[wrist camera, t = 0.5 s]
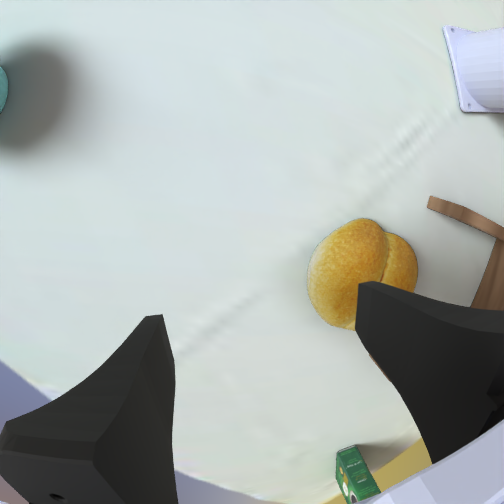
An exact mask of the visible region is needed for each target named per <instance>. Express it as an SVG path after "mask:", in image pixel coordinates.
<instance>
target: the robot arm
mask: <svg viewBox="0 0 504 504" xmlns="http://www.w3.org/2000/svg"><path fill="white" fill-rule="evenodd" d="M443 31H444V35H445V38H446V42H447V46H448V50H449V54H450V58H451V62H452V66H453V71H454V75H455V80H456V85H457V91H458V96H459V102H460V108H461V110H462V111H463V112H501V113H504V27H501V28H495V29H490V30H485V31H480V32H473V31H470V30H466V29H462V28H458V27H454V26H450V25H445V26H443ZM355 330H356V332H357V334H358V336H359V338H360V340H361V342H362V343H363V345H364V347H365V348H366V350H367V351H368V353H369V354H370V355H371V356H372V358H373V359H374V360H375V362H376V363H377V364H378V366H379V367H380V368H381V369H382V371H383V372H384V373H385V375H386V376H387V377H388V378H389V380H390V381H391V382H392V384H393V385H394V386H395V388H396V389H397V391H398V392H399V394H400V395H401V397H402V399H403V401H404V402H405V404H406V406H407V408H408V409H409V411H410V413H411V415H412V417H413V419H414V421H415V423H416V425H417V427H418V429H419V431H420V433H421V436H422V438H423V440H424V443H425V445H426V447H427V450H428V452H429V455H430V458H431V461H432V464H433V465H431V466H429V467H428V468H426V469H424V470H422V471H420V472H418V473H416V474H414V475H412V476H410V477H409V478H407V479H405V480H403V481H402V482H400V483H398V484H396V485H394V486H392V487H390V488H388V489H387V490H385V491H384V492H383V493H380V494H377V495H375V496H372V497H370V498H367V499H365V500H362V501H359V502H357V503H354V504H504V310H486V309H477V308H469V307H464V306H459V305H454V304H449V303H445V302H441V301H438V300H434V299H431V298H427V297H424V296H421V295H418V294H415V293H412V292H409V291H406V290H403V289H400V288H397V287H394V286H391V285H388V284H384V283H381V282H376V281H368V282H363V283H358V296H357V308H356V319H355ZM174 398H175V364H174V358H173V354H172V350H171V346H170V343H169V339H168V335H167V331H166V327H165V323H164V318H163V314H161V315H152V316H146V317H145V318H144V319H143V320H142V321H141V322H140V323H139V325H138V326H137V327H136V328H135V329H134V331H133V332H132V333H131V334H130V335H129V336H128V338H127V339H126V340H125V341H124V342H123V343H122V345H121V346H120V347H119V348H118V349H117V350H116V351H115V352H114V353H113V354H112V355H111V356H110V357H109V358H108V359H107V360H106V361H105V362H104V363H103V364H102V365H101V366H100V367H99V368H98V369H97V370H96V371H95V372H93V373H92V374H91V375H90V376H88V377H87V378H86V379H85V380H84V381H82V382H81V383H79V384H78V385H76V386H75V387H74V388H72V389H71V390H69V391H68V392H66V393H65V394H63V395H62V396H60V397H58V398H57V399H55V400H53V401H52V402H50V403H48V404H46V405H44V406H42V407H40V408H38V409H36V410H34V411H32V412H30V413H27V414H25V415H22V416H20V417H17V418H15V419H12V420H9V421H7V422H6V423H5V425H4V428H3V430H2V432H1V434H0V475H1V476H2V477H3V478H4V480H5V481H6V482H7V483H9V484H10V485H11V486H12V487H13V488H14V489H15V490H16V491H17V492H18V493H19V494H20V495H22V497H23V498H25V499H26V500H27V501H28V502H29V504H178V498H177V491H176V483H175V474H174V464H173V451H172V427H173V412H174ZM0 504H9V503H6V502H3V501H0Z"/></svg>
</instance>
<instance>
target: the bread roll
mask: <svg viewBox="0 0 504 504" xmlns="http://www.w3.org/2000/svg"><path fill="white" fill-rule="evenodd" d="M417 276H418V266H417V259H416V256H415V253H414V251H413V250H412V248H411V247H410V245H409V244H408V243H407V242H406V241H405V240H404V239H402V238H401V237H399V236H397V235H395V234H392V233H387V232H384V231H383V230H382V229H381V227H380V226H379V225H378V224H377V223H376V222H374V221H372V220H369V219H364V218H363V219H356V220H353V221H350V222H348V223H347V224H345V225H343V226H341V227H340V228H338V229H337V230H335V231H334V232H332V233H331V234H330V235H328V236H327V237H326V238H325V239H324V240H323V241H321V242H320V243H319V244H318V245H317V247H316V249H315V250H314V253H313V255H312V257H311V259H310V263H309V266H308V272H307V289H308V295H309V298H310V301H311V303H312V305H313V306H314V308H315V310H316V312H317V313H318V315H319V316H320V317H321V318H322V319H323V320H324V321H325V322H327V323H328V324H330V325H332V326H335V327H339V328H344V329H348V330H353V331H356V330H355V319H356V308H357V296H358V283H363V282H368V281H376V282H381V283H384V284H388V285H391V286H394V287H397V288H400V289H403V290H406V291H409V292H412V293H413V292H414V288H415V286H416V282H417Z"/></svg>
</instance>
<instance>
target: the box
mask: <svg viewBox="0 0 504 504" xmlns="http://www.w3.org/2000/svg"><path fill="white" fill-rule="evenodd" d="M427 208H430V209H432V210H435V211H437V212H439V213H442V214H444V215H447V216H449V217H451V218H454V219H456V220H458V221H460V222H463V223H465V224H467V225H469V226H472V227H474V228H476V229H478V230H480V231H482V232H485V233H487V234H489V235H491V236H493V237H495V238H497V239H496V242H495V245H494V248H493V251H492V254H491V257H490V259H489V262H488V265H487V268H486V270H485V273H484V276H483V278H482V281H481V283H480V286H479V288H478V291H477V293H476V296H475V298H474V300H473V302H472V305H471V307H470V308H477V309H486V310H504V227H502V226H500V225H498V224H496V223H495V222H493V221H491V220H489V219H487V218H485V217H483V216H482V215H480V214H478V213H476V212H474V211H472V210H470V209H468V208H466V207H464V206H461V205H458V204H455V203H452V202H449V201H446V200H442V199H439V198H436V197H433V196H430V198H429V201H428V205H427ZM369 356H370V357H371V358H372V356H371V355H370V354H369ZM372 360H373V361H374V362H375V360H374V359H373V358H372ZM375 364H376V365H377V366H378V364H377V363H376V362H375ZM378 367H379V366H378ZM379 369H380V370H381V371H382V369H381V368H380V367H379ZM382 372H383V371H382ZM383 374H384V375H385V373H384V372H383ZM385 376H386V375H385ZM386 377H387V376H386ZM387 379H388V380H389V378H388V377H387ZM389 381H390V380H389ZM390 382H391V381H390Z"/></svg>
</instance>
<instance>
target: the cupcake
mask: <svg viewBox="0 0 504 504" xmlns="http://www.w3.org/2000/svg"><path fill="white" fill-rule="evenodd" d="M7 94H8V79H7V76H6V73H5V72H4V70H3V69H2V68H1V67H0V113H1V111H2V109H3V107H4V105H5V102H6V99H7Z"/></svg>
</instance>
